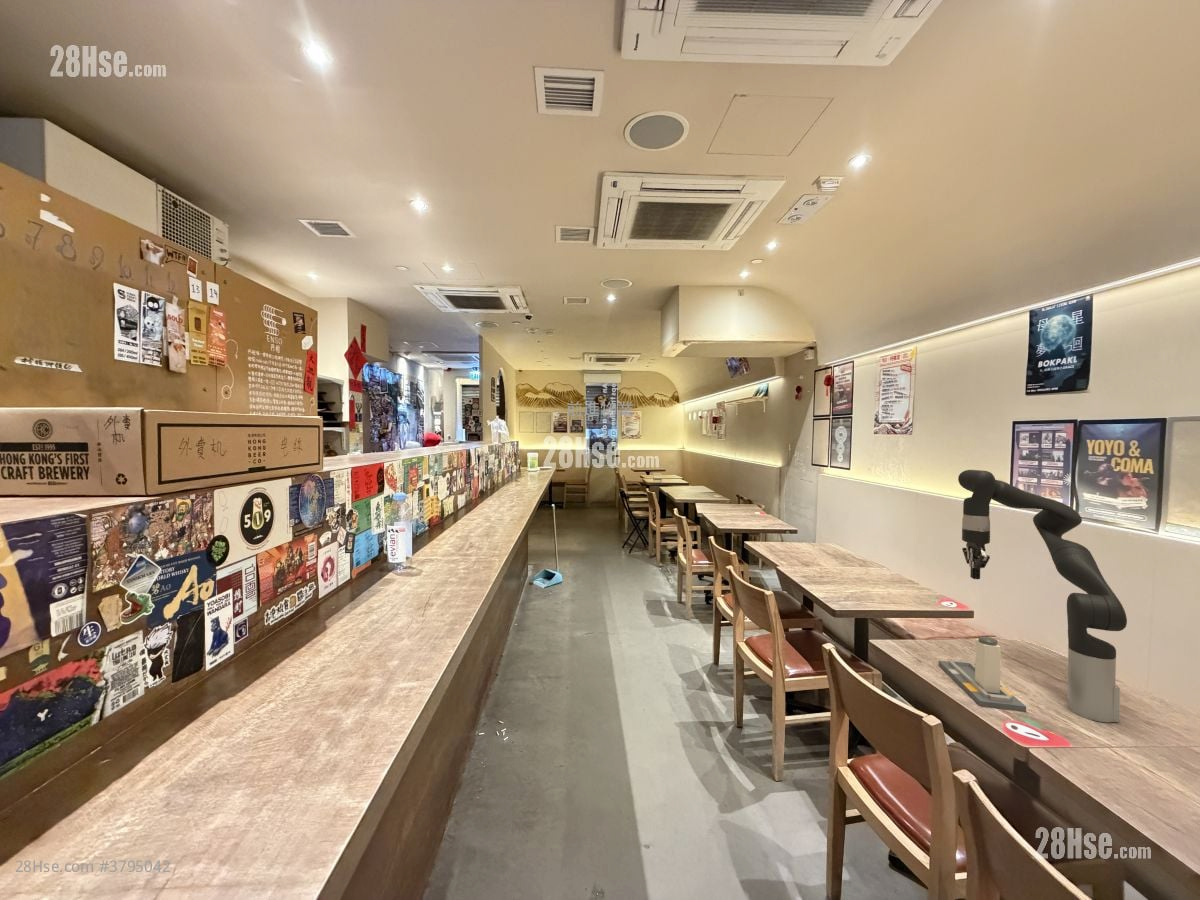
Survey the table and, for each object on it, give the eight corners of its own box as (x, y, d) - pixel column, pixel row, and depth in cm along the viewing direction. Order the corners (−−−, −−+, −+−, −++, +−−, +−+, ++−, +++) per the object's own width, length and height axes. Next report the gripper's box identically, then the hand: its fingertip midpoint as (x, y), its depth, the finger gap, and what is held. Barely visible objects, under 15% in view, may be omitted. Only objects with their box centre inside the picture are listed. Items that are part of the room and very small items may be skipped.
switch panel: (938, 664, 159) (938, 656, 159) (976, 668, 157) (976, 660, 157) (980, 706, 134) (980, 697, 134) (1026, 711, 131) (1026, 702, 131)
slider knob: (974, 683, 143) (974, 635, 143) (991, 685, 142) (991, 636, 142) (983, 691, 139) (983, 641, 138) (1000, 693, 138) (1001, 643, 137)
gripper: (953, 524, 168) (953, 572, 168) (973, 531, 155) (972, 583, 155) (978, 525, 166) (977, 574, 166) (1000, 532, 153) (999, 585, 153)
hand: (975, 578), depth 161 cm, fingers closed
